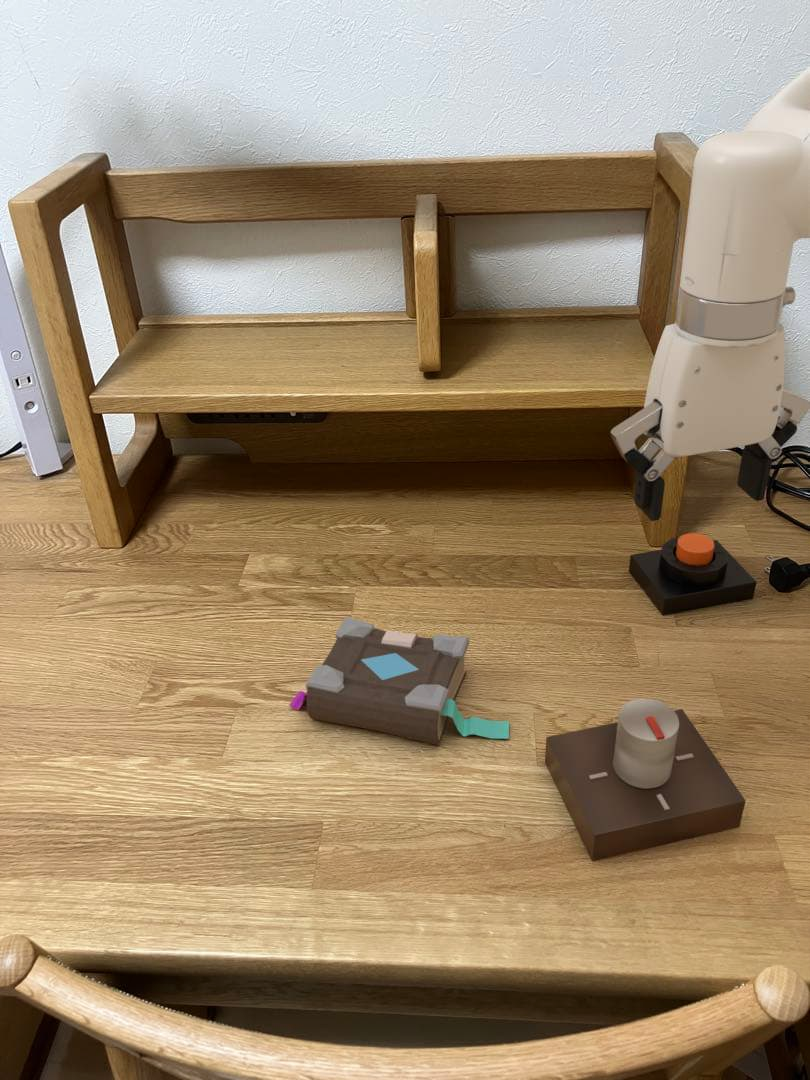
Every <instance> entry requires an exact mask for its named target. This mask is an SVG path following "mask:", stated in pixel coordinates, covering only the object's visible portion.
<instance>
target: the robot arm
mask: <svg viewBox="0 0 810 1080" xmlns="http://www.w3.org/2000/svg"><path fill="white" fill-rule="evenodd" d="M691 175H692V176H691V185H690V192H689V201H688V208H687V217H686V218H687V219H686V227H685V234H684V235H685V236H684V245H683V251H682V252H683V253H682V261H681V262H682V263H681V270H680V271H681V272H680V281H679V286H678V287H679V288H678V297H677V304H676V312H675V321H674V323H672V324H667V325H666V326H665V327H664V329H663V331H662V333H661V337H660V340H659V341H658V345H657V347H656V351H655V354H654V358H653V361H652V365H651V369H650V374H649V377H648V383H647V386H646V387H647V388H646V392H645V399H644V403H643V404H644V406H643V408H642V409H640V410H639V411H636V413H634V414H632V415H631V416H630V417H628V418H626V419H625V420H623V421H622V422H620V423H619V424H617V425H616V426H614V427H613V428H611V430H610V432H609V433H610V434H609V435H610V437H611V439H612V441H613V443H614V445H615V448H616V449H617V451H618V454H619V456H621V458H622V459H624V461H625V462H626V463H627V464H628V465H629V466H631V467H632V468H633V469H634V470H635V471H636V473H635V474H636V475H635V482H634V483H635V486H634V493H633V494H634V495H633V500H634V503H635V505H636V506H637V508H638V509H639V510H641V511H642V512H643V513H644V515H645V516H646V517H647V518H648V519H649V521H651V522H655V521H659V520H660V519H661V518H662V510H663V501H664V493H665V484H666V483H665V482H666V481H665V479H664V478H663V477H662V476H661V475H662V474H663V473H664V471H665V470H666V469H667V468H668V467H669V466H670V464H672V462H673V461H674V460H675V459H676V458H681V457H683V458H684V457H690V456H695V455H702V454H708V453H711V452H713V453H714V452H718V451H723V450H729V449H734V448H740V447H744V448H743V449H742V452H741V458H740V464H739V465H740V466H739V470H738V476H737V480H736V484H737V486H738V487H739V488H740V489H742V491H743V492H744V493H746V494H747V495H748V496H749V497H750V498H751V499H752V500H754V501H756V502H759V501H763V500H764V499H765V495H766V490H767V485H768V484H769V480H770V474H771V469H772V464H773V460H775V459H777V458H778V457H780V455H782V452H783V448H782V447H783V446H784V445H785V444H786V443H787V442H788V441H789V440H790V439H791V438H793V436H794V435H795V434H796V433H797V431H798V424H799V425H800V423H801V422H802V421H803V419H804V418H805V416H806V415H807V413H808V412H809V410H810V401H809V400H808V399H806V398H805V397H803V396H802V395H800V394H797V393H795V392H793V391H790V390H787V389H785V388H784V385H785V384H784V383H785V371H786V336H785V327H784V326H783V324H782V323H780V321H781V318H782V312H783V308H784V307H785V306H788V305H792V304H793V303H794V302H795V300H796V291H795V288H794V287H792V286H787V282H788V277H789V271H790V266H791V260H792V254H793V249H794V244H795V243H796V242H797V241H798V240H801V239H810V65H809V66H807V68H805V69H804V70H803V71H801V72H800V73H799V74H798V75H797V76H796V77H794V78H793V79H792V80H790V82H788V84H786V85H785V86H784V87H783V88H782V89H780V90H779V92H777V93H775V95H774V96H773V97H772V98H771V99H769V101H767V102H766V103H765V104H764V105H763V106H762V107H761V108H759V110H758V111H757V112H756V113H755V115H754V116H753V117H752V118H751V119H750V120H749V121H748V123H747V124H746V125H745V126H744V128H743V130H735V131H728V132H723V133H719V134H716V135H714V136H711V137H709V138H707V139H706V140H705V141H704V142H703V143H702V144H701V145H700V147H699V148H698V150H697V152H696V154H695V157H694V162H693V169H692V174H691ZM781 408H783V409H782V412H781ZM780 412H781V413H780ZM780 414H781V415H780ZM642 435H645V436H647V437H648V439H646V441H645V442H644V443H643V444H642V445H641V447H640V448H639V449H638V448H637V445H636V440H637V439H638V438H639V437H640V436H642ZM659 450H660V451H659ZM657 452H658V454H657ZM656 454H657V455H656ZM655 455H656V456H655ZM654 456H655V457H654ZM653 457H654V458H653ZM652 458H653V459H652Z"/></svg>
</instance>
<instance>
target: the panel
mask: <svg viewBox="0 0 810 1080" xmlns="http://www.w3.org/2000/svg"><path fill="white" fill-rule="evenodd" d="M673 711H674V712H675V713H676V714H677V716H678V719H679V730H678V736H677V741H676V747H675V753H674V758H673V764H672V770H671V775H670V777H669V779H668V780H667V781H666V782H665V783H664V784H663V785H661V786H659V787H656V788H650V789H644V788H638V787H634V786H632V785H629V784H627V783H626V782H624V781H623V780H622V779H621V778H620V777H619V776H618V775H617V774H616V772H615V770H614V767H613V758H614V750H615V742H616V734H617V725H618V721H617V722H612V723H608V724H603V725H598V726H593V727H588V728H583V729H578V730H573V731H570V732H569V731H568V732H564V733H559V734H554V735H549V736H546V737H545V755H544V764H545V766H546V768H547V770H548V772H549V774H550V777H551V778H552V781H553V782H554V784H555V786H556V787H555V788H556V789H557V791H558V793H559V795H560V797H561V799H562V801H563V803H564V805H565V808H566V810H567V812H568V814H569V816H570V819H571V820H572V822H573V824H574V827H575V828H576V830H577V833H578V835H579V837H580V840H581V841H582V843H583V845H584V847H585V850H586V852H587V854H588V856H589V858H590V860H591V861H592V862H593V861H594V862H595V861H598V860H602V859H603V860H604V859H607V858H611V857H615V856H619V855H624V854H628V853H633V852H637V851H641V850H645V849H650V848H654V847H658V846H663V845H668V844H671V843H675V842H680V841H684V840H689V839H693V838H697V837H702V836H705V835H710V834H714V833H718V832H723V831H727V830H731V829H736V828H740V826H741V823H742V818H743V813H744V810H745V806H746V802H747V800H746V798H745V797H744V796H743V794H742V793H741V791H740V790H739V789H738V787H737V786H736V785H735V783H734V781H733V780H732V778H731V777H730V775H729V774H728V773H727V772H726V770H725V768H724V767H723V766H722V764H721V763H720V761H719V760H718V759H717V757H716V756H715V754H714V752H713V751H712V750H711V748H710V747H709V746H708V744H707V743H706V741H705V739H704V738H703V737H702V735H701V734H700V732H699V731H698V730H697V728H696V726H695V725H694V723H693V722H692V721H691V720H690V718H689V717H688V715H687V714H686V712H685V711H684V709H683V708H680V709H675V710H673Z"/></svg>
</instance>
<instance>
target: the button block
mask: <svg viewBox="0 0 810 1080" xmlns="http://www.w3.org/2000/svg"><path fill="white" fill-rule="evenodd" d="M680 537H681V536H678V537H672V538H670V539H669V540H667V541H666V542H664V544H662V545H661V549H657V550H651V551H645V552H640V553H639V552H638V553H633V554H630V556H629V557H630V558H629V565H628V573H629V574H630V575H631V576H632V578H633V579H634V580H635V582H636V583H637V585H638V586H639V587H640V588H641V590H642V591H643V592H644V593H645V595H646V596H647V597H648V599H649V600H650V602H651V603H652V604H653V605H654V607H655V608H656V609H657V611H658V612H659V613H660V614H661V615H662V616H663V617H664V616H669V615H674V614H679V613H680V614H681V613H684V612H691V611H696V610H700V609H706V608H712V607H717V606H723V605H727V604H733V603H738V602H745V601H748V600H753V599H754V597H755V591H756V587H757V580H755V579H754V578H753V576H751V574H750V573H749V572H748V571H747V570H746V569H745V568H744V567H743V566H742V565H741V564H740V563H739V562H738V560H736V558H735V557H734V556H732V554H730V552H729V551H728V550H727V549H726V548H725V547H724V546H723V545H722V544H721V543H720V542H719V540H717V539H712V541H713V542H714V545H715V546H714V552H713V557H712V561H711V562H710V563H709V564H706V565H701V566H697V565H689V564H686V563H684V562H682V561H679V560H678V559H677V557H676V549H677V542H678V539H679V538H680Z"/></svg>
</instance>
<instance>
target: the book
mask: <svg viewBox="0 0 810 1080" xmlns="http://www.w3.org/2000/svg"><path fill="white" fill-rule="evenodd" d="M469 645H470V638H469V637H467V636H458V635H449V634H436V635H434V636H432V637H422V636H419V634H418V633H410V632H409V633H408V632H400V631H394V630H389V629H387V630H383V629H380V628H376V627H375V625H374V623H370V622H366V621H362V620H359V619H356V618H351V617H348V616H345V617H344V619H343V620H342V622H341V624H340V625H339V627H338V629H337V630H336V632H335V642H334V643H333V646H332V648H331V650H330V651H329V653H328V655H327V657H326V658H325V660H324V661H323V662H322V665H320V664H319V665H316V666H315V668H314V670H313V672H312V673H311V675H310V677H309V678H308V680H307V682H306V684H305V689H306V692H305V691H304V690H303V691H302V690H299V691H298V692H297V694H296V695H295V696H294V697H293V699H292V700H291V702H290V703H289V705H288V706H289V707H292V708H294V709H295V710H296V711H297V710H298V711H299V710H300V709H301V707H302V705H303V704H304V703H305V701H306V710H307V715H308V716H309V718H310V719H312V720H315V721H316V720H317V721H321V722H327V723H331V724H339V725H344V726H350V727H355V728H361V729H365V730H371V731H372V730H373V731H376V732H382V733H386V734H390V735H393V736H397V737H401V738H406V739H410V740H414V741H418V742H421V743H426V744H430V745H434V746H438V747H440V745H441V741H442V738H443V735H444V732H445V729H446V726H447V723H448V720H449V718H452V721H453V723H454V725H455V727H456V729H457V731H458V732H459V734H460V735H461V736H462V737H467V736H470V735H476V736H479V737H484V738H487V739H509V738H510V737H509V736H510V734H509V732H510V721H509V720H488V719H485V718H481V717H477V716H471V717H469V718H465V717H464V716H463V715H462V714H461V712H460V710H459V707H458V706H457V703H456V698H457V696H458V694H459V691H460V689H461V686H462V684H463V682H464V680H465V677H466V675H467V669H465V655H466V653H467V651H468V648H469Z"/></svg>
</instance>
